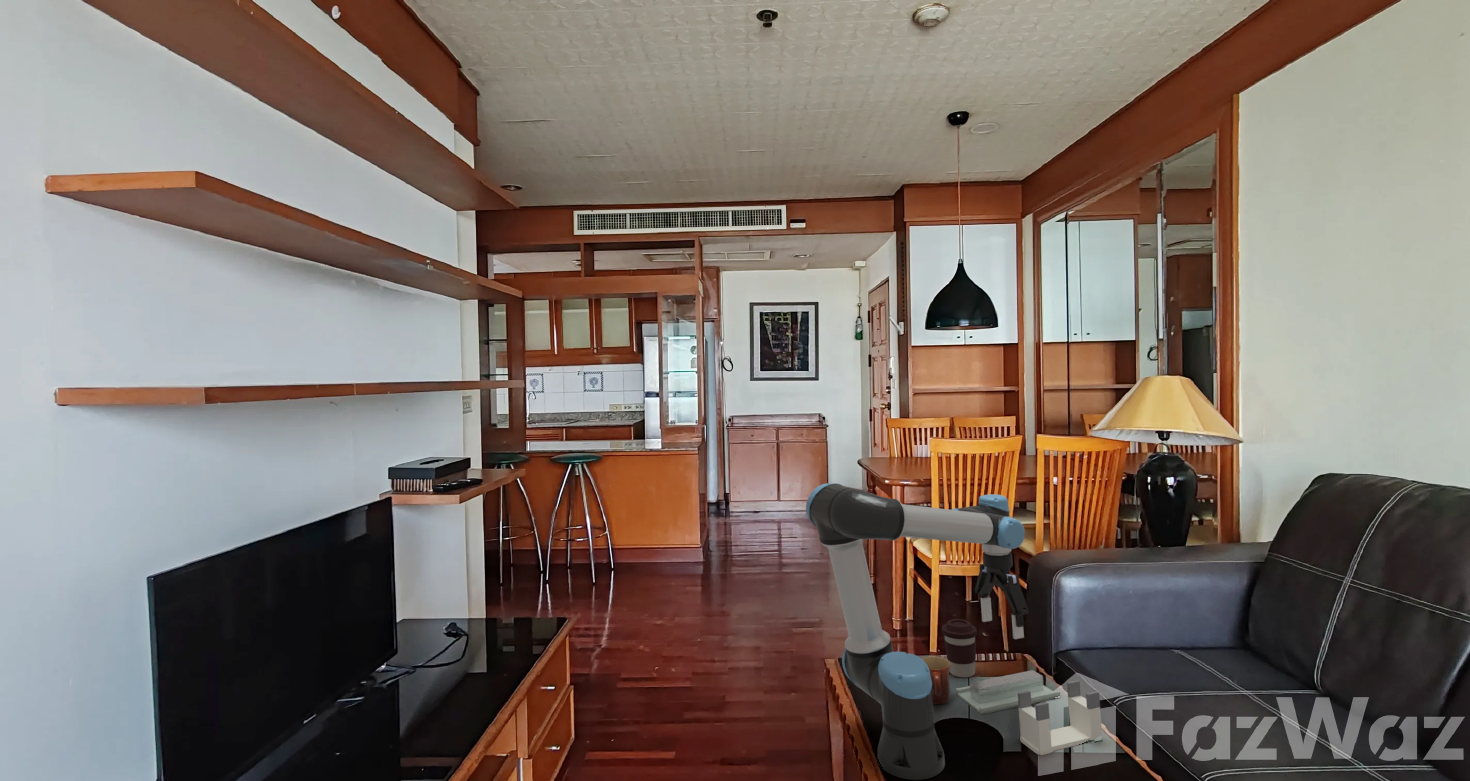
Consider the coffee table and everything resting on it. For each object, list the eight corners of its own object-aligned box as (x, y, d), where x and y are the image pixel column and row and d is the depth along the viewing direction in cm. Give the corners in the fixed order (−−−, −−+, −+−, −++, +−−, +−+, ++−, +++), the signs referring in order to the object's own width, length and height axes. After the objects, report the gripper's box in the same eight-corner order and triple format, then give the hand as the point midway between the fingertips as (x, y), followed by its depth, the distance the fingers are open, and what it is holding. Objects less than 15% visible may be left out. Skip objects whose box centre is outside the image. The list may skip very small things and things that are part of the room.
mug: (919, 691, 186) (916, 655, 186) (951, 692, 184) (948, 655, 184) (922, 712, 174) (919, 674, 174) (957, 713, 173) (954, 675, 172)
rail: (979, 703, 176) (978, 688, 176) (970, 697, 179) (969, 682, 179) (1043, 690, 180) (1042, 675, 180) (1033, 683, 184) (1032, 669, 184)
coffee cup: (956, 662, 203) (953, 614, 203) (986, 671, 195) (982, 621, 195) (938, 673, 196) (934, 623, 196) (968, 683, 189) (964, 631, 189)
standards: (1039, 755, 152) (1035, 706, 151) (1019, 740, 158) (1015, 692, 158) (1104, 739, 156) (1100, 691, 156) (1082, 725, 163) (1078, 679, 162)
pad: (981, 714, 171) (981, 708, 171) (956, 694, 183) (955, 688, 183) (1060, 697, 177) (1059, 691, 177) (1030, 678, 189) (1030, 673, 189)
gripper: (1040, 561, 168) (1045, 643, 168) (981, 540, 193) (986, 612, 193) (1014, 564, 167) (1020, 648, 167) (959, 543, 191) (963, 616, 191)
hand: (1002, 629), depth 180 cm, fingers open, 13 cm apart
